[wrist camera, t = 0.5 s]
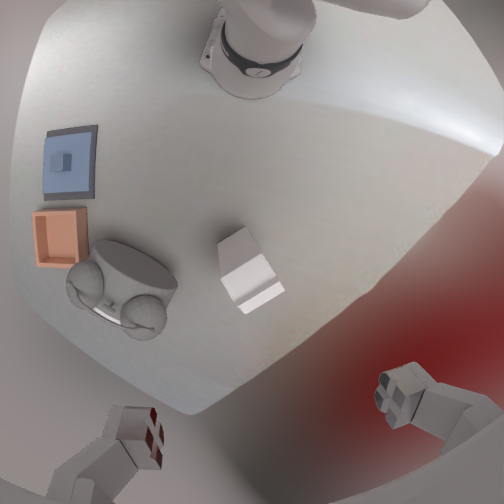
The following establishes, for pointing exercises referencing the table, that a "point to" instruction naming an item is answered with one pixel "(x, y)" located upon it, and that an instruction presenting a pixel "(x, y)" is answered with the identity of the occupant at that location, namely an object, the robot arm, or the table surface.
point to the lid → (68, 163)
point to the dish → (60, 237)
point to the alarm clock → (123, 289)
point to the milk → (246, 272)
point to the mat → (92, 193)
